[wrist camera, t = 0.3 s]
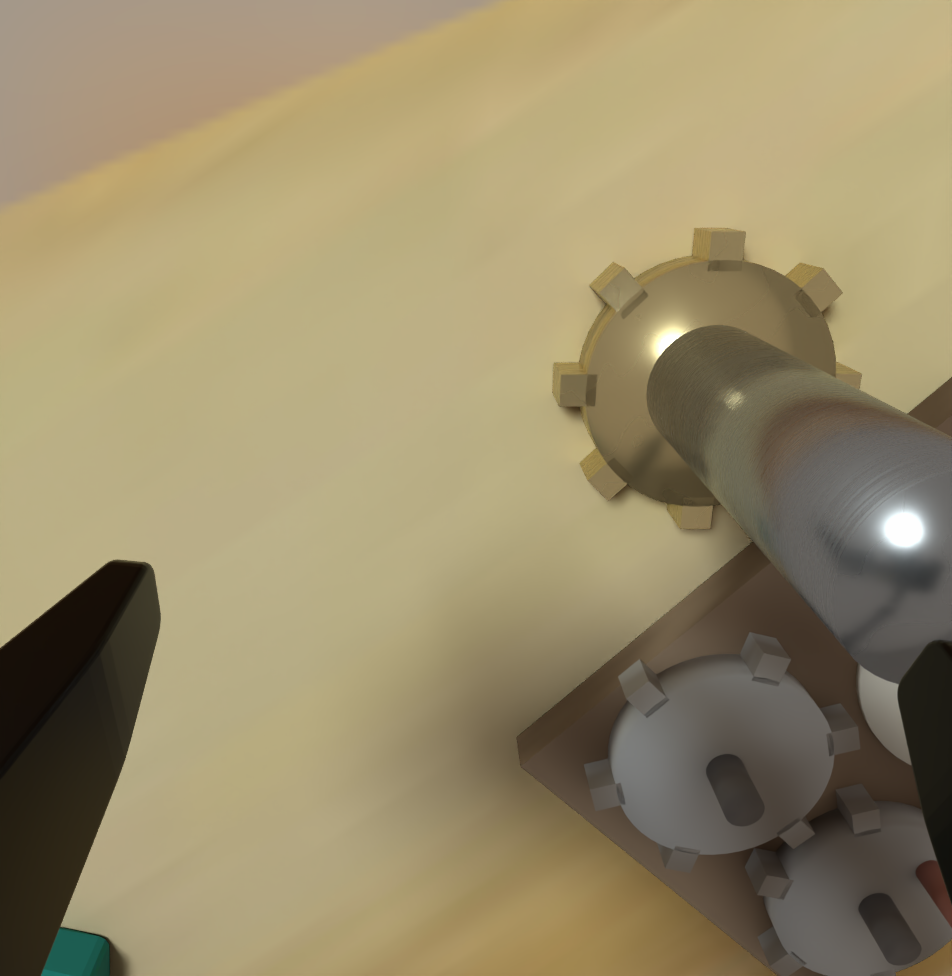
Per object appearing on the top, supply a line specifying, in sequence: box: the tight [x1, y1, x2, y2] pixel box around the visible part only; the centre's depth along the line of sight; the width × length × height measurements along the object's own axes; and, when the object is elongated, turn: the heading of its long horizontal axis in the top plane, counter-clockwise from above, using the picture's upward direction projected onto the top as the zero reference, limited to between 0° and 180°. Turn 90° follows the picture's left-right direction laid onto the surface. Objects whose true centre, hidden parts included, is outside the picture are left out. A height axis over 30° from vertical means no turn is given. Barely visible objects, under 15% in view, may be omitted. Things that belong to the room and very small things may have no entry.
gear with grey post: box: [552, 228, 952, 684], centre depth 18 cm, size 8×8×13 cm
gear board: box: [517, 378, 952, 976], centre depth 26 cm, size 18×17×5 cm
